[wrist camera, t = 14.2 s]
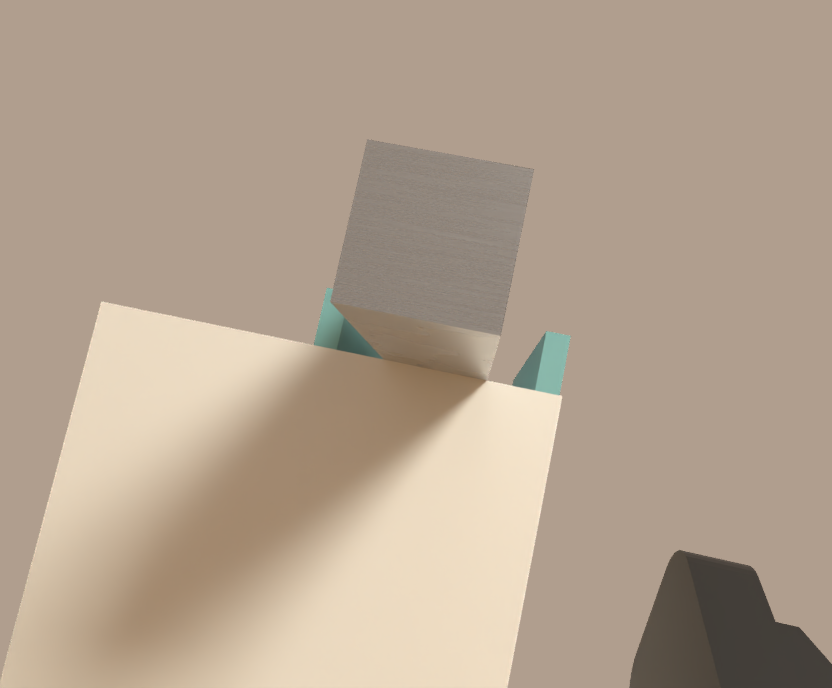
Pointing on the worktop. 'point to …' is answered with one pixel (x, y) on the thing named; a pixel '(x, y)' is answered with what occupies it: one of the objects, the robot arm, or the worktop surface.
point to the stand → (280, 518)
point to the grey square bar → (431, 256)
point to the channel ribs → (536, 375)
